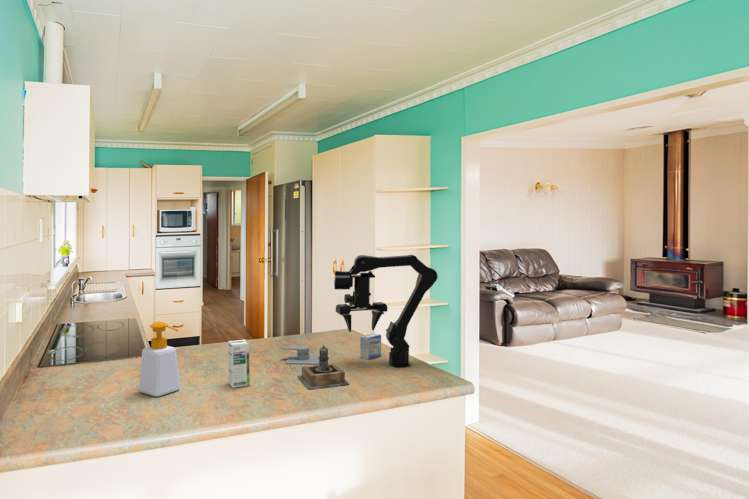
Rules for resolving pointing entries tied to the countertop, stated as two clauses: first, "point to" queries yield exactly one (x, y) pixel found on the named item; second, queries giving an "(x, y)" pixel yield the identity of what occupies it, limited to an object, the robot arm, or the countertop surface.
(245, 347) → the syrup box
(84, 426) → the countertop surface
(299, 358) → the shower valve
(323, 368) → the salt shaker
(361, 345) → the medicine box
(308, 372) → the holder
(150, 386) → the soap bottle
